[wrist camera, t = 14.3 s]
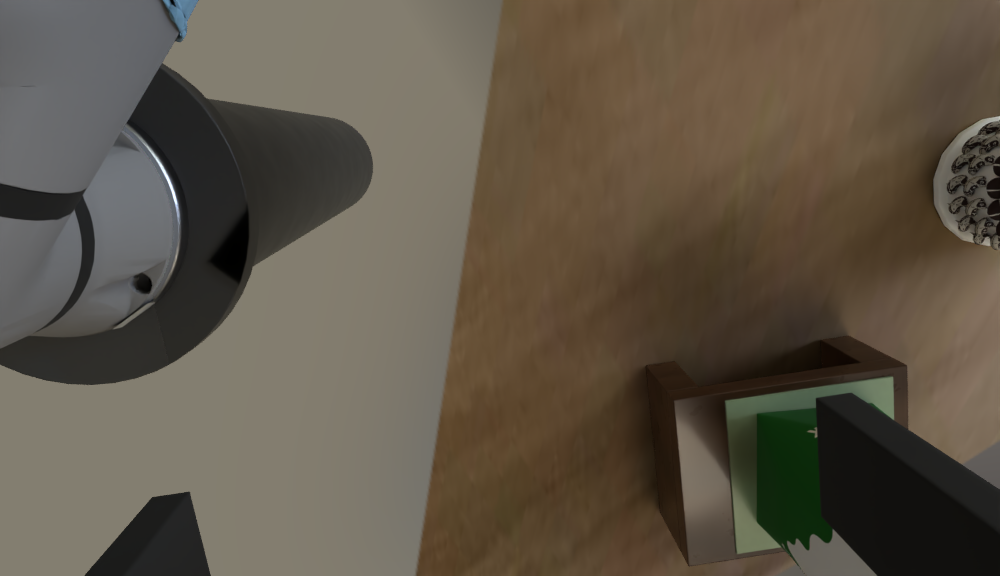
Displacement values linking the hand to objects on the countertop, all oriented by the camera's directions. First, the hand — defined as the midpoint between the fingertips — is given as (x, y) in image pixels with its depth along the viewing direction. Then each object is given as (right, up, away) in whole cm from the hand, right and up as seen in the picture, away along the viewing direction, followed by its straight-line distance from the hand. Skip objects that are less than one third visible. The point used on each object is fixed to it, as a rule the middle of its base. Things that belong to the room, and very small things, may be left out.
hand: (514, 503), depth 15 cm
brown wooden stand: (+17, -5, +34) cm, 39 cm away
